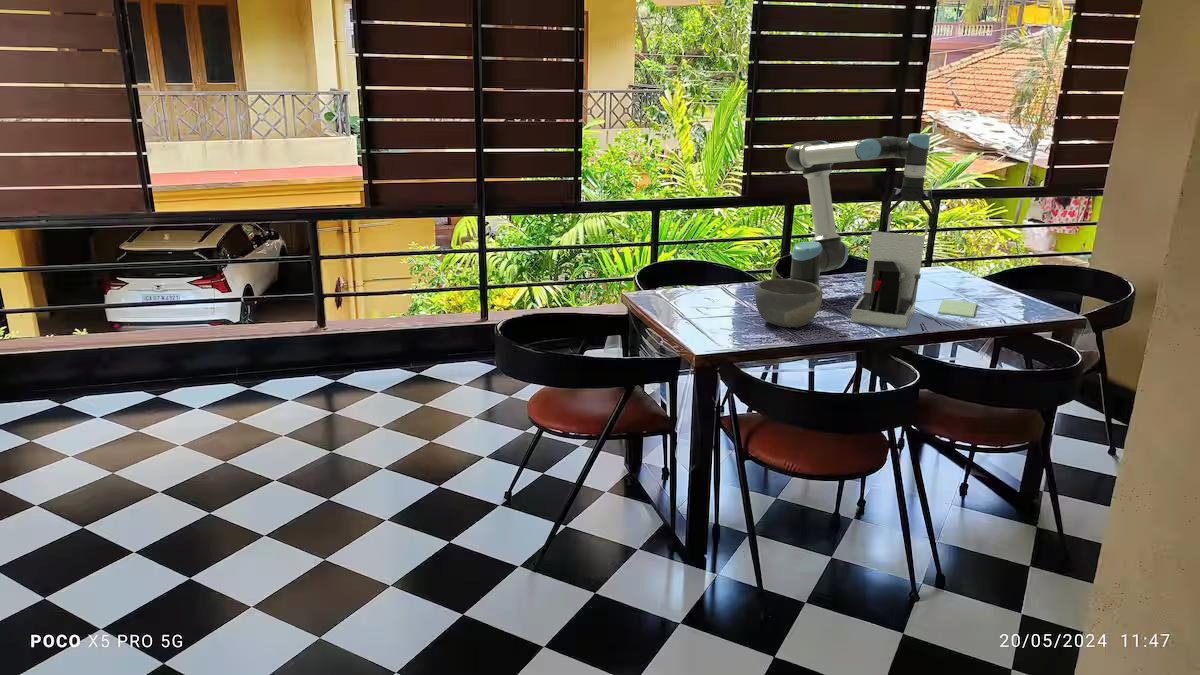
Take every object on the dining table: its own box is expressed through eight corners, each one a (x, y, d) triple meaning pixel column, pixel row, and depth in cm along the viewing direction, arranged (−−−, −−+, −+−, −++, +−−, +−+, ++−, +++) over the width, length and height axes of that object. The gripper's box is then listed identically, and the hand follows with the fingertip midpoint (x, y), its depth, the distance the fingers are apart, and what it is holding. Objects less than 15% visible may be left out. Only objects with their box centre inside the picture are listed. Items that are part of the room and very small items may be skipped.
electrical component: (899, 323, 318) (905, 272, 312) (871, 322, 320) (877, 270, 314) (893, 311, 334) (899, 261, 328) (867, 309, 336) (872, 260, 330)
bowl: (821, 336, 304) (825, 296, 299) (753, 332, 308) (755, 292, 303) (817, 317, 327) (820, 279, 322) (753, 313, 331) (756, 276, 326)
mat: (937, 313, 333) (937, 311, 332) (942, 300, 350) (942, 299, 350) (973, 317, 327) (973, 316, 327) (976, 304, 345) (976, 303, 345)
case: (850, 321, 321) (858, 244, 311) (864, 302, 347) (872, 230, 338) (906, 329, 312) (916, 250, 303) (917, 308, 338) (926, 235, 329)
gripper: (878, 175, 315) (871, 231, 322) (949, 179, 306) (941, 237, 313) (880, 172, 322) (874, 227, 329) (950, 177, 313) (942, 233, 319)
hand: (906, 232), depth 321 cm, fingers open, 13 cm apart
